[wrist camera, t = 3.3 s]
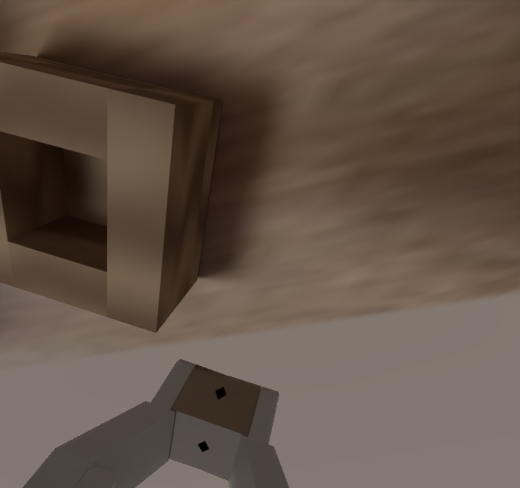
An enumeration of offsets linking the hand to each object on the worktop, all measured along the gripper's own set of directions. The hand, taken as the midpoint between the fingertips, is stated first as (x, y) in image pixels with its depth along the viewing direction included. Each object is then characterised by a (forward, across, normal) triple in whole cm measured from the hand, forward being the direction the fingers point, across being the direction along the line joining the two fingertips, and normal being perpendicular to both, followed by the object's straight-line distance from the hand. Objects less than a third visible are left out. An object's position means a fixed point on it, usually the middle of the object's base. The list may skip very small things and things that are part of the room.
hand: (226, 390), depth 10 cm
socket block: (+13, +11, -1) cm, 17 cm away
